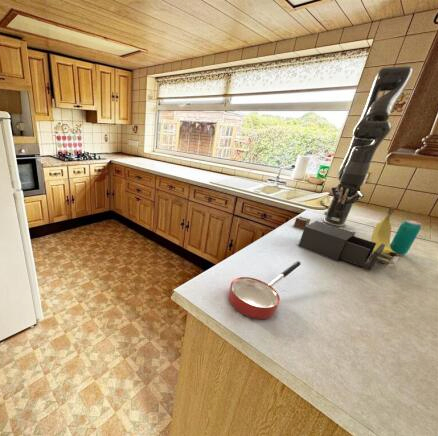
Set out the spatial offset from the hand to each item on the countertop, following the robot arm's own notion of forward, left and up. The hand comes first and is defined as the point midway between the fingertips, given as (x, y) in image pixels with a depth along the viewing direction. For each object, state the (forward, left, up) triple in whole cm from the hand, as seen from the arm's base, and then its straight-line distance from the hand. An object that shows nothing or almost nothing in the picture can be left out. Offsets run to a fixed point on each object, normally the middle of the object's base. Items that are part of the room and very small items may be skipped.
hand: (339, 211), depth 104 cm
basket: (+11, +14, -15) cm, 23 cm away
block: (-7, -15, -16) cm, 22 cm away
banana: (-3, +18, -16) cm, 24 cm away
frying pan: (+60, +2, -16) cm, 62 cm away
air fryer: (+11, +1, -16) cm, 19 cm away
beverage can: (-15, +22, -16) cm, 31 cm away
